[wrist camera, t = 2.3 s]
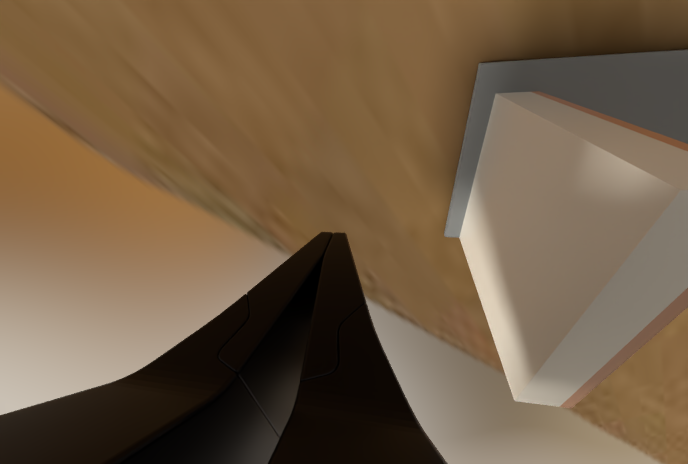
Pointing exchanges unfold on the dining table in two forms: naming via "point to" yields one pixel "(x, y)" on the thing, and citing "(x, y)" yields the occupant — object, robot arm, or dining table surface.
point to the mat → (578, 100)
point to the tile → (574, 242)
